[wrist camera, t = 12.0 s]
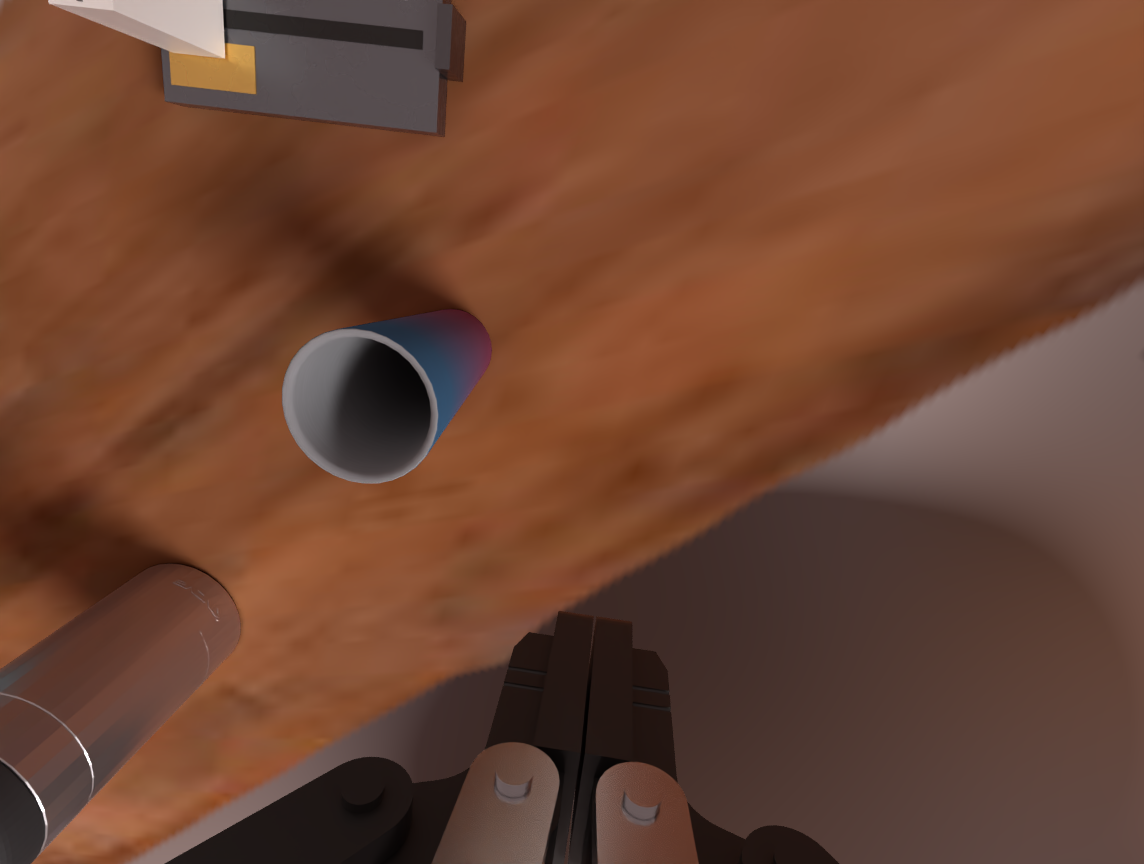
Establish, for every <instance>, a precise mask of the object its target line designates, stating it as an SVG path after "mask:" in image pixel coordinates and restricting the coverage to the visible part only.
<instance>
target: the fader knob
mask: <svg viewBox="0 0 1144 864" xmlns="http://www.w3.org/2000/svg"><path fill="white" fill-rule="evenodd" d="M48 2H49V4H52V5H54V6H57V7H59V8H62V9H64V10H67V11H69V12H72V13H74V14H77V15H79V16H82V17H84V18H87V19H89V20H92V21H95V22H97V23H100V24H102V25H105V26H107V27H110V28H112V29H115V30H117V31H120V32H122V33H125V34H127V35H130V36H132V37H135V38H137V39H140V40H142V41H145V42H148V43H150V44H153V45H155V46H158V47H160V48H163V49H165V50H168V51H170V52H173V53H179V54H188V55H197V56H206V57H215V58H224V59H225V43H224V22H223V0H48Z"/></svg>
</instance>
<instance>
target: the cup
mask: <svg viewBox="0 0 1144 864" xmlns="http://www.w3.org/2000/svg"><path fill="white" fill-rule="evenodd" d="M491 352H492V348H491V341H490V338H489V335H488V333H487V331H486V329H485V327H484V326H483V325H482V323H481V322H480V321H479V320H477V319H476V318H475V317H474V316H472V315H471V314H469V313H467V312H464V311H461V310H456V309H445V310H439V311H434V312H428V313H423V314H417V315H412V316H407V317H401V318H396V319H390V320H385V321H379V322H374V323H368V324H363V325H358V326H352V327H347V328H341V329H337V330H333V331H329V332H325V333H323V334H321V335H319V336H317V337H315V338H313V339H311V340H310V341H309V342H308V343H306V344H305V345H304V346H303V347H302V348H300V350H299V351H298V352H297V354H296V355H295V356H294V358H293V359H292V360H291V362H290V365H289V367H288V369H287V371H286V373H285V378H284V382H283V387H282V405H283V410H284V416H285V420H286V422H287V425H288V427H289V430H290V432H291V434H292V436H293V437H294V439H295V441H296V442H297V444H298V446H299V447H300V448H301V449H302V450H303V452H304V453H305V454H306V455H307V456H308V457H309V458H310V459H311V460H312V461H313V462H315V463H316V464H317V465H318V466H319V467H321V468H322V469H324V470H326V471H327V472H329V473H331V474H333V475H334V476H337V477H340V478H343V479H345V480H348V481H353V482H359V483H381V482H386V481H391V480H394V479H396V478H399V477H401V476H403V475H405V474H407V473H408V472H410V471H411V470H412V469H414V468H415V467H417V466H418V464H419V463H420V462H421V461H422V460H423V459H424V458H425V457H426V455H427V454H428V452H429V451H430V450H431V448H432V447H433V445H434V444H435V442H436V441H437V440H438V438H439V437H440V435H441V434H442V432H443V431H444V430H445V428H446V427H447V425H448V424H449V422H450V421H451V420H452V418H453V417H454V415H455V414H456V412H457V411H458V409H459V408H460V407H461V405H462V404H463V402H464V401H465V399H466V398H467V397H468V395H469V394H470V392H471V391H472V389H473V388H474V387H475V385H476V384H477V382H478V381H479V379H480V378H481V377H482V375H483V374H484V372H485V371H486V369H487V367H488V365H489V362H490V359H491Z"/></svg>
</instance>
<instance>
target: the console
mask: <svg viewBox="0 0 1144 864" xmlns="http://www.w3.org/2000/svg"><path fill="white" fill-rule="evenodd" d="M223 22H224V43H225V59H224V58H215V57H206V56H197V55H188V54H179V53H173V52H170V51H168V50H165V49H163V48H161V54H162V68H163V81H164V94H165V101H166V102H170V103H173V104H177V105H180V106H184V107H192V108H201V109H209V110H218V111H227V112H235V113H244V114H252V115H261V116H269V117H278V118H286V119H295V120H304V121H312V122H321V123H329V124H338V125H346V126H355V127H363V128H372V129H381V130H389V131H398V132H406V133H415V134H423V135H432V136H440V137H445V117H446V97H447V79H448V80H451V81H460V82H463V68H464V50H465V32H466V21H465V20H464V19H463V17H462V16H461V15H460V13H459V12H458V11H457V10H456V8H455V7H454V6H453V5H452V4H451V0H223Z"/></svg>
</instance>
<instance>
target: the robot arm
mask: <svg viewBox="0 0 1144 864" xmlns="http://www.w3.org/2000/svg"><path fill="white" fill-rule="evenodd" d="M593 618H594V617H593V616H589V615H582V614H576V613H570V612H563V611H559V612H558V617H557V622H556V628H555V632H554V636H550V635H543V634H537V633H530V632H529V633H528V634H527V635H526V636H525V637H524V638H523V639H522V640H521V641H520V642H519V643H518V644H517V645H516V646H515V647H514V649H513V652H512V656H511V660H510V663H509V668H508V670H507V674H506V678H505V681H504V686H503V688H502V692H501V695H500V699H499V702H498V706H497V709H496V713H495V716H494V720H493V723H492V727H491V731H490V734H489V738H488V741H487V745H486V747H485V750H484V751H483V752H482V753H480V754H479V755H478V756H477V757H476V759H475V760H474V761H473V763H472V765H471V766H470V768H468V769H467V770H465V771H463V772H462V773H460V774H457V775H455V776H452V777H449V778H446V779H441V780H435V781H427V782H419V783H412V781H411V778H410V776H409V774H408V773H407V772H406V770H405V769H404V768H403V767H401V766H400V765H399V764H397V763H395V762H393V761H391V760H388V759H385V758H379V757H363V758H358V759H354V760H351V761H348V762H346V763H344V764H342V765H340V766H338V767H336V768H334V769H332V770H330V771H329V772H327V773H325V774H323V775H322V776H320V777H318V778H316V779H314V780H313V781H311V782H309V783H307V784H305V785H304V786H302V787H300V788H298V789H297V790H295V791H293V792H291V793H289V794H288V795H286V796H284V797H282V798H281V799H279V800H277V801H275V802H274V803H272V804H270V805H268V806H266V807H265V808H263V809H261V810H260V811H258V812H256V813H254V814H252V815H250V816H249V817H247V818H245V819H243V820H242V821H240V822H238V823H236V824H235V825H233V826H231V827H229V828H227V829H225V830H224V831H222V832H220V833H218V834H217V835H215V836H213V837H211V838H209V839H208V840H206V841H204V842H202V843H201V844H199V845H197V846H195V847H194V848H192V849H190V850H188V851H186V852H184V853H183V854H181V855H179V856H177V857H176V858H174V859H172V860H171V861H169V862H167V863H165V864H564V858H565V851H566V845H567V838H568V832H569V825H570V819H571V812H572V805H573V799H574V805H573V815H572V825H571V835H570V845H569V855H568V864H839V863H838V862H837V861H836V860H835V859H834V858H833V857H832V856H831V855H830V854H829V853H828V852H827V851H826V850H825V849H824V848H823V847H821V846H820V845H819V844H818V843H817V842H815V841H814V840H813V839H811V838H810V837H808V836H806V835H805V834H803V833H801V832H799V831H796V830H794V829H791V828H787V827H784V826H764V827H760V828H758V829H757V830H754V831H753V832H752V833H750V834H749V836H748V837H747V838H746V840H745V839H743V838H741V837H739V836H737V835H735V834H733V833H731V832H728V831H726V830H724V829H722V828H720V827H718V826H716V825H714V824H712V823H711V822H709V821H708V820H706V819H705V818H703V817H702V816H701V815H700V814H699V813H697V812H696V811H695V810H694V809H693V808H692V807H691V805H690V804H689V803H688V802H687V800H686V797H685V795H684V792H683V790H682V789H681V787H680V786H679V785H678V782H677V776H676V765H675V753H674V741H673V730H672V717H671V712H670V709H671V707H670V695H669V683H668V671H667V669H666V668H665V666H664V664H663V663H662V661H661V660H660V658H659V657H658V655H657V653H656V652H654V651H647V650H641V649H634V648H632V622H630V621H623V620H616V619H610V618H603V617H596V622H595V629H594V635H593V643H592V649H591V655H590V648H591V639H592V628H593ZM240 627H241V623H240V618H239V613H238V611H237V609H236V606H235V604H234V602H233V600H232V599H231V597H230V596H229V594H228V593H227V592H226V591H225V590H224V588H223V587H222V586H221V585H220V584H219V583H218V582H216V581H215V580H214V579H212V578H211V577H210V576H208V575H207V574H205V573H203V572H201V571H199V570H197V569H195V568H191V567H188V566H185V565H180V564H171V563H170V564H159V565H156V566H153V567H149V568H147V569H146V570H144V571H143V572H141V573H139V574H138V575H137V576H135V577H134V578H132V579H131V580H129V581H128V582H126V583H125V584H123V585H122V586H121V587H119V588H118V589H116V590H115V591H113V592H112V593H110V594H109V595H107V596H106V597H104V598H103V599H101V600H100V601H98V602H97V603H95V604H94V605H93V606H91V607H90V608H88V609H87V610H85V611H84V612H82V613H81V614H80V615H78V616H77V617H75V618H74V619H72V620H71V621H69V622H68V623H67V624H65V625H64V626H62V627H61V628H59V629H58V630H56V631H55V632H54V633H52V634H51V635H49V636H48V637H46V638H45V639H43V640H42V641H40V642H39V643H38V644H36V645H35V646H33V647H32V648H30V649H29V650H27V651H26V652H25V653H23V654H22V655H20V656H19V657H17V658H16V659H14V660H13V661H12V662H10V663H9V664H7V665H6V666H4V667H3V668H1V669H0V864H31V863H32V862H33V861H34V860H35V859H36V858H37V857H38V856H39V854H40V853H41V852H42V851H43V850H44V849H45V848H46V847H47V846H48V845H49V844H50V843H51V842H52V841H53V840H54V839H55V838H56V837H57V836H58V835H59V833H60V832H61V831H62V830H63V829H64V828H65V827H66V826H67V825H68V824H69V823H70V822H71V821H72V820H73V819H74V818H75V817H76V816H77V815H78V814H79V812H80V811H81V810H82V809H83V808H84V807H85V806H86V805H87V804H88V803H89V802H90V801H91V799H92V798H93V797H94V796H95V795H96V794H97V793H98V792H99V791H100V790H101V789H102V788H103V787H104V786H105V785H106V784H107V783H108V782H109V781H110V780H111V778H112V777H113V776H114V775H115V774H116V773H117V772H118V771H119V770H120V769H121V768H122V767H123V766H124V765H125V764H126V763H127V762H128V761H129V760H130V759H131V757H132V756H133V755H134V754H135V753H136V752H137V751H138V750H139V749H140V748H141V747H142V746H143V745H144V744H145V743H146V742H147V741H148V740H149V739H150V738H151V736H152V735H153V734H154V733H155V732H156V731H157V730H158V729H159V728H160V727H161V726H162V725H163V724H164V723H165V722H166V721H167V720H168V719H169V718H170V717H171V716H172V714H173V713H174V712H175V711H176V710H177V709H178V708H179V707H180V706H181V705H182V704H183V703H184V702H185V701H186V700H187V699H188V698H189V697H190V696H191V695H192V693H193V692H194V691H195V690H196V689H197V688H198V687H199V686H200V685H201V684H202V683H203V682H204V681H205V680H206V679H207V678H208V677H209V676H210V675H211V674H212V673H213V672H214V671H215V670H216V669H217V668H218V666H219V665H220V664H221V663H222V662H223V661H224V660H225V659H226V658H227V657H228V656H229V655H230V654H231V653H232V652H233V650H234V648H235V647H236V645H237V644H238V640H239V637H240ZM589 660H590V662H589ZM574 792H575V795H574Z"/></svg>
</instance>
